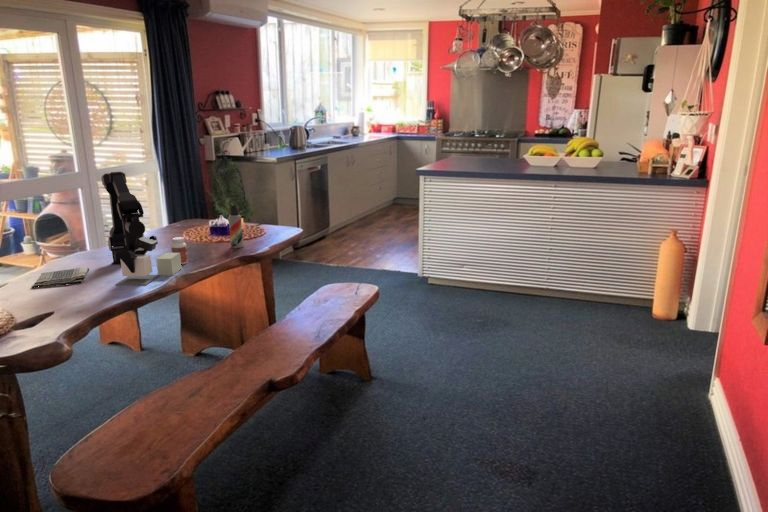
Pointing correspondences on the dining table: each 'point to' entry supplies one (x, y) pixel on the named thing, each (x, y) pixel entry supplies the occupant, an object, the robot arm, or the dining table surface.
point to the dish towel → (62, 277)
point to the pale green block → (169, 264)
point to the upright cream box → (138, 266)
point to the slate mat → (138, 280)
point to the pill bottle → (180, 248)
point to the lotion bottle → (235, 227)
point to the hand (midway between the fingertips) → (137, 270)
